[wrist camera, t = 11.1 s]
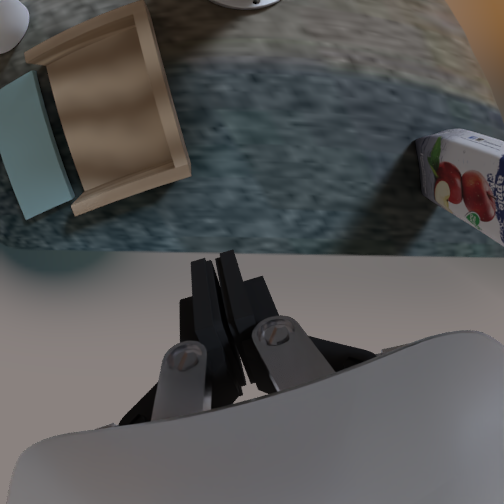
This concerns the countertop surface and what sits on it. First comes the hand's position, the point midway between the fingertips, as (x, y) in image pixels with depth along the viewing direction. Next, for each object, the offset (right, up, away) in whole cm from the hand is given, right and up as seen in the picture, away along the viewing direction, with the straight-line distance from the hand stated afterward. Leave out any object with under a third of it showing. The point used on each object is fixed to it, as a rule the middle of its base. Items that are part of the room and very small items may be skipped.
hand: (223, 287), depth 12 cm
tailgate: (-21, +14, +16) cm, 30 cm away
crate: (-14, +17, +17) cm, 28 cm away
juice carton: (+27, +15, +27) cm, 41 cm away
